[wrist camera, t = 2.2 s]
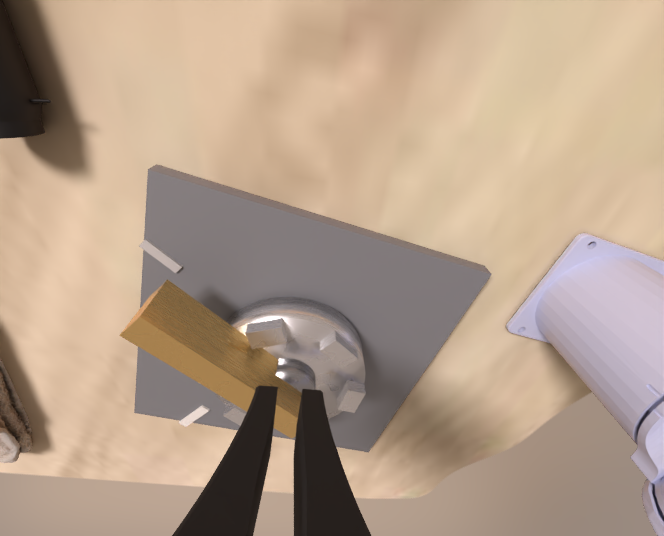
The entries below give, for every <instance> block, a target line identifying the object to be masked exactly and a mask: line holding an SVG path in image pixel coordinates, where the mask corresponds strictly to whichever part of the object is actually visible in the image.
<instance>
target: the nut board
mask: <svg viewBox="0 0 664 536" xmlns="http://www.w3.org/2000/svg"><path fill="white" fill-rule="evenodd" d="M139 247H141V248H142V249H143V250H144V251H143V269H142V287H141V305H140V308H141V307H142V306H143V304H144V303H145V302H146V300H147V299H148V298H149V296H150V295H152V294H153V293H154V292H155V291H156V290H157V289H158V288H159V287H160V286H161V285H162V284H163V283H164V282H165V281H166V280H167V279H168V280H169V281H170V282H172V283H173V284H175V285H176V286H177V287H179V288H180V289H181V290H183V291H184V292H186V293H187V294H188V295H190V296H191V297H193V298H194V299H195V300H197V301H198V302H199V303H201V304H202V305H204V306H205V307H206V308H208V309H209V310H211V311H212V312H213V313H215V314H216V315H217V316H219V317H220V318H222V319H223V320H224V321H227V320H228V319H229V318H230V317H231V316H232V315H233V314H234V313H236V312H237V311H239V310H240V309H241V308H243V307H245V306H247V305H249V304H252V303H254V302H257V301H260V300H265V299H269V298H277V297H296V298H304V299H309V300H313V301H316V302H319V303H322V304H324V305H327V306H329V307H331V308H333V309H334V310H336V311H338V312H339V313H340V314H342V315H343V316H344V317H345V318H346V319H347V320H348V321H349V322H350V323H351V324H352V325H353V327H354V328H355V329H356V331H357V333H358V335H359V337H360V341H361V345H362V351H363V358H364V365H365V373H366V374H365V382H364V385H365V392H366V394H365V396H364V398H363V399H362V401H361V403H360V404H359V406H358V408H357V409H356V411H355V413H352V412H347V411H342V412H341V413H339V414H338V415H336V416H334V417H332V418H329V419H328V421H329V425H330V429H331V433H332V436H333V439H334V443H335V446H336V447H340V448H346V449H352V450H358V451H364V452H369V451H370V449H371V448H372V446H373V445H374V444H375V442H376V441H377V439H378V438H379V436H380V435H381V433H382V432H383V431H384V429H385V428H386V426H387V425H388V423H389V422H390V420H391V419H392V418H393V416H394V415H395V413H396V412H397V410H398V409H399V407H400V406H401V404H402V403H403V402H404V400H405V399H406V397H407V396H408V394H409V393H410V391H411V390H412V389H413V387H414V386H415V384H416V383H417V381H418V380H419V378H420V377H421V376H422V374H423V373H424V371H425V370H426V368H427V367H428V365H429V364H430V363H431V361H432V360H433V358H434V357H435V355H436V354H437V352H438V351H439V350H440V348H441V347H442V345H443V344H444V342H445V341H446V339H447V338H448V337H449V335H450V334H451V332H452V331H453V329H454V328H455V326H456V325H457V324H458V322H459V321H460V319H461V318H462V316H463V315H464V313H465V312H466V311H467V309H468V308H469V306H470V305H471V303H472V302H473V300H474V299H475V298H476V296H477V295H478V293H479V292H480V290H481V289H482V287H483V286H484V285H485V283H486V282H487V280H488V279H489V277H490V276H491V273H490V272H489V271H488V269H487V268H486V267H485V266H483V265H480V264H477V263H473V262H470V261H467V260H464V259H460V258H457V257H454V256H451V255H447V254H444V253H441V252H438V251H435V250H431V249H428V248H425V247H422V246H418V245H415V244H412V243H409V242H405V241H402V240H399V239H396V238H392V237H389V236H386V235H383V234H380V233H376V232H373V231H370V230H367V229H363V228H360V227H357V226H354V225H350V224H347V223H344V222H341V221H338V220H334V219H331V218H328V217H325V216H321V215H318V214H315V213H312V212H308V211H305V210H302V209H299V208H296V207H292V206H289V205H286V204H283V203H279V202H276V201H273V200H270V199H266V198H263V197H260V196H257V195H254V194H250V193H247V192H244V191H241V190H237V189H234V188H231V187H228V186H224V185H221V184H218V183H215V182H212V181H208V180H205V179H202V178H199V177H195V176H192V175H189V174H186V173H182V172H179V171H176V170H173V169H170V168H166V167H163V166H160V165H155V166H153V167H152V168H150V169H148V180H147V198H146V216H145V234H144V241H143V242H142V243H141V244H140V245H139ZM225 406H226V405H225V404H224V403H223V402H222V401H221V400H220V399H219V398H218V397H217V395H216V394H215V392H213V391H211V390H210V389H208V388H206V387H205V386H203V385H201V384H200V383H198V382H196V381H195V380H193V379H191V378H190V377H188V376H186V375H185V374H183V373H181V372H180V371H178V370H176V369H175V368H173V367H171V366H170V365H168V364H166V363H165V362H163V361H161V360H160V359H158V358H156V357H155V356H153V355H151V354H150V353H148V352H146V351H145V350H143V349H141V348H140V347H138V358H137V376H136V394H135V412H134V413H139V414H145V415H150V416H156V417H162V418H168V419H174V420H180V421H179V424H181V425H183V426H185V427H187V426H188V425H190V424H191V423H198V424H204V425H210V426H216V427H222V428H228V429H233V430H239V428H240V425H238V424H236V423H234V422H233V421H231V420H229V419H227V418H226V417H224V416H223V413H224V409H225ZM272 436H275V437H281V438H287V439H291V438H290V437H288V436H286V435H285V434H283V433H281V432H280V431H278V430H276V429H275V428H273V435H272ZM292 439H293V440H295V437H294V438H292Z"/></svg>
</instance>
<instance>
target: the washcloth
mask: <svg viewBox="0 0 664 536" xmlns="http://www.w3.org/2000/svg"><path fill="white" fill-rule="evenodd" d="M29 425H30V424H29V423H28V417H27V414H26V412H25V410H24V407H23V405H22V403H21V401H20V398H19V397H18V394H17V392H16V390H15V388H14V386H13V383H12V381H11V379H10V377H9V375H8V372H7V370H6V368H5V366H4V364H3V362H2V360H1V358H0V462H3V463H7V462H10V463H12V462H15V461H17V459H18V457H19V454H20V452H28V451H30V450H31V448H32V446H33V445H32V440H31V437H30V435H31V433H32V429H31V428H30V427H28V426H29Z"/></svg>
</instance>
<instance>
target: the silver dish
mask: <svg viewBox="0 0 664 536" xmlns="http://www.w3.org/2000/svg"><path fill="white" fill-rule="evenodd" d="M120 336H121V337H123V338H125V339H126V340H128V341H130V342H131V343H133V344H135V345H136V346H138V347H140V348H141V349H143V350H145V351H146V352H148V353H150V354H151V355H153V356H155V357H156V358H158V359H160V360H161V361H163V362H165V363H166V364H168V365H170V366H171V367H173V368H175V369H176V370H178V371H180V372H181V373H183V374H185V375H186V376H188V377H190V378H191V379H193V380H195V381H196V382H198V383H200V384H201V385H203V386H205V387H206V388H208V389H210V390H211V391H213V392H215V394H216V395H217V397H218V398H219V399H220V400H221V401H222V402H223V403H224V404H225V405H226V406H225V409H224V413H223V416H224V417H226V418H227V419H229V420H231V421H233V422H234V423H236V424H238V425H240V426H241V424H242V422H243V419H244V417H245V415H246V413H247V411H248V409H249V406H250V404H251V401H252V399H253V396H254V393H255V390H256V387H258V386H260V385H262V386H274V387H278V391H277V400H276V410H275V419H274V428H275V429H276V430H278V431H280V432H281V433H283V434H285V435H286V436H288V437H290V438H291V439H292V438H294V437H296V425H297V419H298V413H299V407H300V401H301V395H302V389H312V390H321V391H322V392H323V397H324V403H325V408H326V413H327V417H328V419H329V418H332V417H334V416H336V415H338V414H339V413H341V412H342V411H347V412H352V413H355V411H356V409H357V408H358V406H359V404H360V403H361V401H362V399H363V398H364V396H365V394H366V392H365V385H364V382H365V374H366V373H365V365H364V358H363V351H362V345H361V341H360V337H359V335H358V333H357V331H356V329H355V328H354V327H353V325H352V324H351V323H350V322H349V321H348V320H347V319H346V318H345V317H344V316H343V315H342V314H340V313H339V312H338V311H336V310H334V309H333V308H331V307H329V306H327V305H324V304H322V303H319V302H316V301H313V300H309V299H304V298H296V297H277V298H269V299H265V300H260V301H257V302H254V303H252V304H249V305H247V306H245V307H243V308H241V309H240V310H239V311H237V312H236V313H234V314H233V315H232V316H231V317H230V318H229V319H228V320H227V321H224V320H223V319H222V318H220V317H219V316H217V315H216V314H215V313H213V312H212V311H211V310H209V309H208V308H206V307H205V306H204V305H202V304H201V303H199V302H198V301H197V300H195V299H194V298H193V297H191V296H190V295H188V294H187V293H186V292H184V291H183V290H181V289H180V288H179V287H177V286H176V285H175V284H173V283H172V282H170V281H169V280H168V279H167V280H166V281H165V282H164V283H163V284H162V285H161V286H160V287H159V288H158V289H157V290H156V291H155V292H154V293H153V294H152V295H150V296H149V298H148V299H147V300H146V302H145V303H144V304H143V306H142V307H141V308H140V309H139V311H138V312H137V313H136V315H135V316H134V317H133V319H132V320H131V321H130V323H129V324H128V325H127V326H126V328H125V329H124V330H123V332H122V333H121V334H120Z"/></svg>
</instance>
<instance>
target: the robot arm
mask: <svg viewBox="0 0 664 536" xmlns="http://www.w3.org/2000/svg"><path fill="white" fill-rule="evenodd" d="M590 242H591V244H590V245H588V244H589V243H590ZM506 328H507V329H508V331H509V332H511V333H514V334H517V335H521V336H525V337H529V338H532V339H536V340H540V341H543V342H547V343H551V344H552V345H553V347H554V348H555V349H556V350H557V351H558V352H559V354H560V355H561V356H562V357H563V358H564V359H565V361H566V362H567V363H568V364H569V365H570V367H571V368H572V369H573V370H574V371H575V372H576V374H577V375H578V376H579V377H580V378H581V379H582V381H583V382H584V383H585V384H586V385H587V387H588V388H589V389H590V390H591V391H592V392H593V394H594V395H595V396H596V397H597V398H598V399H599V400H600V402H601V403H602V404H603V405H604V406H605V408H606V409H607V410H608V411H609V412H610V413H611V415H612V416H613V417H614V418H615V419H616V420H617V422H618V423H619V424H620V425H621V426H622V428H623V429H624V430H625V431H626V432H627V434H628V435H629V436H630V437H631V438H632V439H633V441H634V442H635V443H636V444H637V445H638V447H637V449H636V451H635V452H634V453H633V455H631V459H632V460H633V461H634V463H635V464H636V465H637V466H638V468H639V469H640V470H641V471H642V473H643V474H644V475H645V476H646V478H647V480H646V481H645V483H644V485H643V488H642V500H643V506H644V508H645V511H646V514H647V517H648V519H649V521H650V523H651V525H652V527H653V529H654V531H655V533H656V534H657V536H664V261H663V260H660V259H657V258H655V257H652V256H649V255H646V254H643V253H641V252H638V251H635V250H632V249H629V248H627V247H624V246H621V245H618V244H615V243H613V242H610V241H607V240H604V239H601V238H599V237H596V236H593V235H590V234H587V233H582V234H579V235H578V236H576V237H575V238H574V240H573V241H572V242H571V243H570V245H569V246H568V247H567V249H566V250H565V251H564V252H563V254H562V255H561V256H560V257H559V259H558V260H557V261H556V262H555V264H554V265H553V266H552V267H551V269H550V270H549V271H548V273H547V274H546V275H545V276H544V278H543V279H542V280H541V281H540V283H539V284H538V285H537V286H536V288H535V289H534V290H533V291H532V293H531V294H530V295H529V297H528V298H527V299H526V300H525V302H524V303H523V304H522V305H521V307H520V308H519V309H518V310H517V312H516V313H515V314H514V316H513V317H512V318H511V319H510V321H509V322H508V323H507V325H506ZM277 391H278V387H274V386H262V385H260V386H258V387H256V390H255V393H254V396H253V399H252V401H251V404H250V406H249V409H248V411H247V413H246V415H245V417H244V419H243V422H242V424H241V426H240V428H239V430H238V431H237V433H236V435H235V437H234V439H233V441H232V443H231V445H230V447H229V448H228V450H227V452H226V454H225V455H224V457H223V459H222V461H221V462H220V464H219V466H218V467H217V469H216V471H215V472H214V474H213V476H212V477H211V479H210V481H209V482H208V484H207V485H206V487H205V488H204V490H203V492H202V493H201V495H200V496H199V498H198V499H197V501H196V502H195V504H194V505H193V507H192V508H191V510H190V511H189V513H188V514H187V516H186V517H185V519H184V520H183V521H182V523H181V524H180V526H179V527H178V528H177V530H176V531H175V532H174V534H173V535H172V536H253V532H254V528H255V523H256V519H257V514H258V509H259V505H260V500H261V495H262V491H263V486H264V481H265V476H266V472H267V467H268V462H269V458H270V451H271V443H272V435H273V428H274V419H275V410H276V400H277ZM294 536H371V534H370V532H369V530H368V528H367V525H366V523H365V521H364V519H363V517H362V514H361V512H360V510H359V508H358V505H357V503H356V500H355V498H354V496H353V493H352V491H351V488H350V485H349V483H348V480H347V478H346V475H345V472H344V469H343V467H342V464H341V461H340V458H339V455H338V452H337V449H336V446H335V443H334V439H333V436H332V433H331V429H330V425H329V421H328V417H327V413H326V408H325V403H324V397H323V392H322V391H321V390H312V389H302V395H301V401H300V407H299V413H298V419H297V425H296V437H295V449H294Z"/></svg>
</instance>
